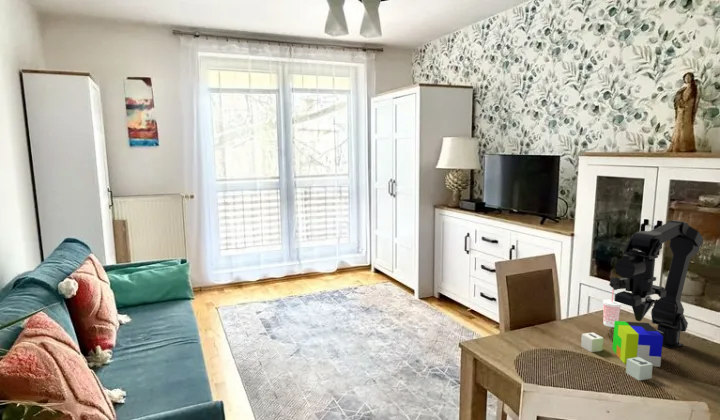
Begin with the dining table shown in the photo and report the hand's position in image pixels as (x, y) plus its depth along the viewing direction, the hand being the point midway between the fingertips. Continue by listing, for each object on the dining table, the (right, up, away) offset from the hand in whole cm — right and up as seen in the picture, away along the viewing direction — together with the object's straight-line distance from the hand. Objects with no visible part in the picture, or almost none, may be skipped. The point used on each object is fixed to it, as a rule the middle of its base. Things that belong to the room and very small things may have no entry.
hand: (638, 320), depth 135 cm
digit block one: (-10, -12, +8) cm, 18 cm away
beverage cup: (+7, -9, +27) cm, 29 cm away
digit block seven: (-6, -14, -9) cm, 18 cm away
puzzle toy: (0, -13, +2) cm, 13 cm away
